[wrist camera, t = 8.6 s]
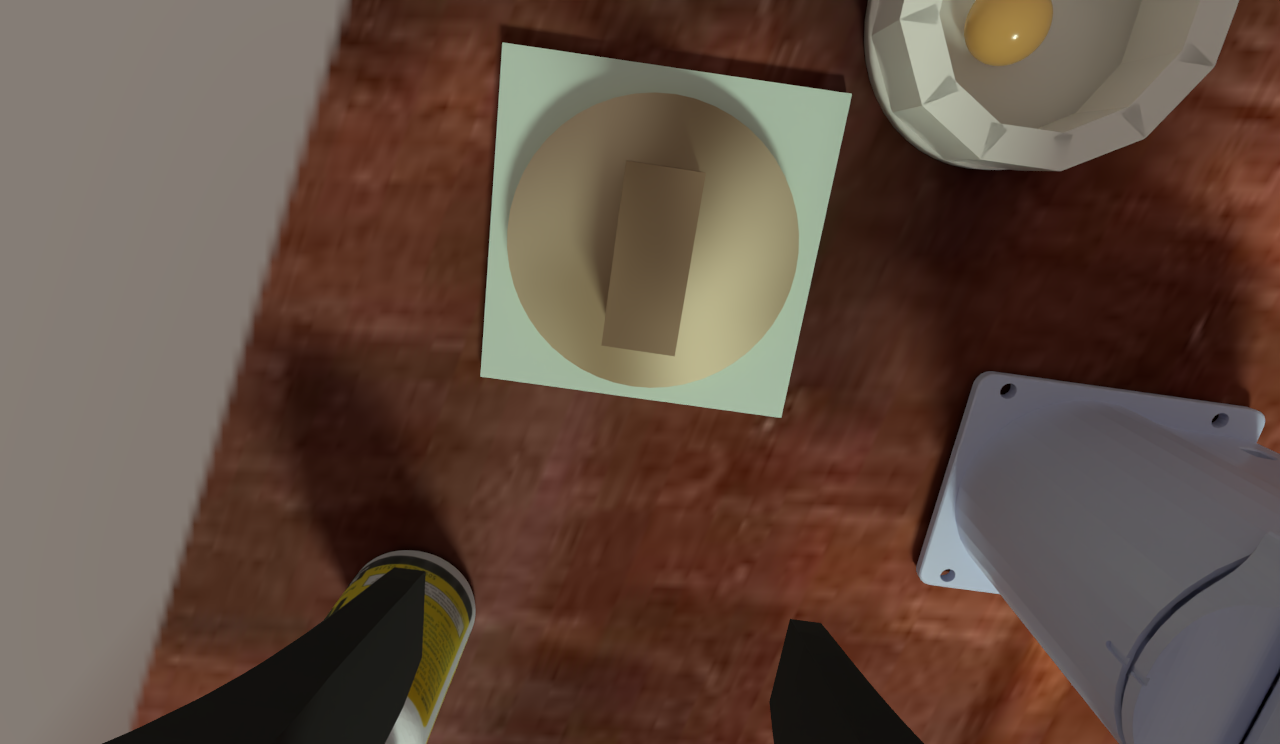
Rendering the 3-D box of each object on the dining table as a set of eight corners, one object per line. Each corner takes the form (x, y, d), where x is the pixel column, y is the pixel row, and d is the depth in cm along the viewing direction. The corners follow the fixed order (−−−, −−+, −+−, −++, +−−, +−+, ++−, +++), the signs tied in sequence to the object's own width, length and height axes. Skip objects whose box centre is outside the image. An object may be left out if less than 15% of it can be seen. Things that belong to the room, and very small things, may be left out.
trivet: (847, 95, 19) (852, 93, 19) (778, 412, 22) (781, 417, 22) (506, 45, 19) (502, 42, 18) (484, 371, 22) (480, 376, 21)
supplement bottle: (358, 534, 24) (208, 720, 16) (485, 558, 24) (400, 754, 16) (350, 640, 26) (209, 859, 17) (470, 661, 26) (385, 888, 18)
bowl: (1203, -125, 17) (1310, -182, 14) (1097, 187, 20) (1172, 191, 17) (904, -171, 17) (954, -238, 14) (835, 149, 20) (866, 146, 17)
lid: (822, 119, 19) (855, 111, 16) (761, 397, 22) (780, 438, 18) (525, 73, 19) (499, 56, 16) (502, 359, 21) (474, 393, 18)
